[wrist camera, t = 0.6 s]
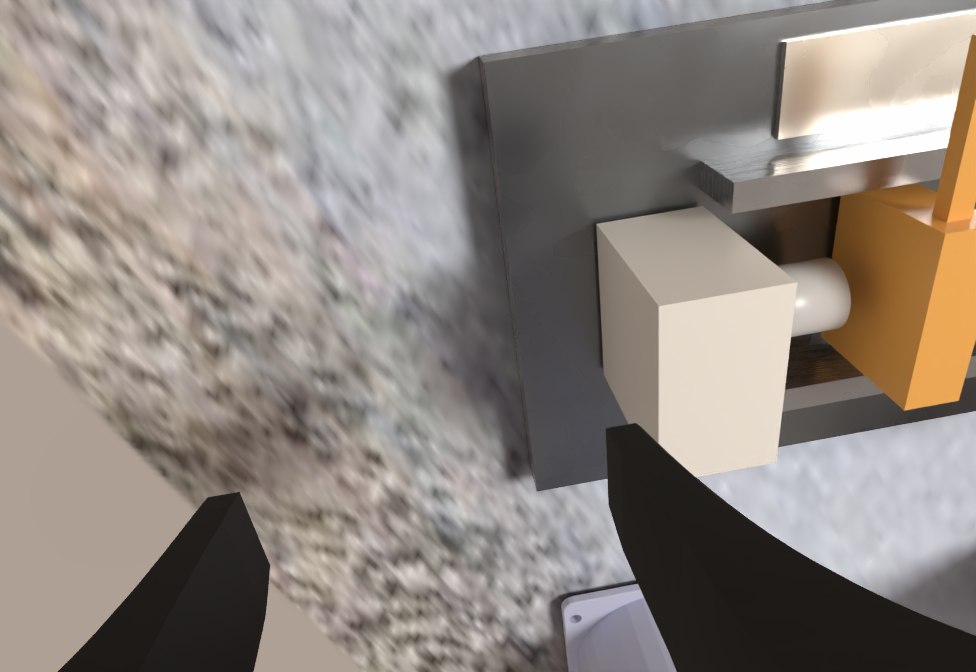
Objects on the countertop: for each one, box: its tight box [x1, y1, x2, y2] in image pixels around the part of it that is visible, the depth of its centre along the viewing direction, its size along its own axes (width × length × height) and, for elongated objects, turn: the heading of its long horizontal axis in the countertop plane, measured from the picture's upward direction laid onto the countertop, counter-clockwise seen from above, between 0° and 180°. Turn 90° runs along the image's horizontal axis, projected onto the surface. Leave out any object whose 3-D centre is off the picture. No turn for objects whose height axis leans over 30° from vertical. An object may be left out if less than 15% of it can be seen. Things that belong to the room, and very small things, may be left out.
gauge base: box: [479, 0, 976, 491], centre depth 18 cm, size 21×14×7 cm, turn 97°
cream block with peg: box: [596, 206, 851, 477], centre depth 17 cm, size 6×5×5 cm
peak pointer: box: [821, 34, 976, 411], centre depth 17 cm, size 2×9×4 cm, turn 7°
